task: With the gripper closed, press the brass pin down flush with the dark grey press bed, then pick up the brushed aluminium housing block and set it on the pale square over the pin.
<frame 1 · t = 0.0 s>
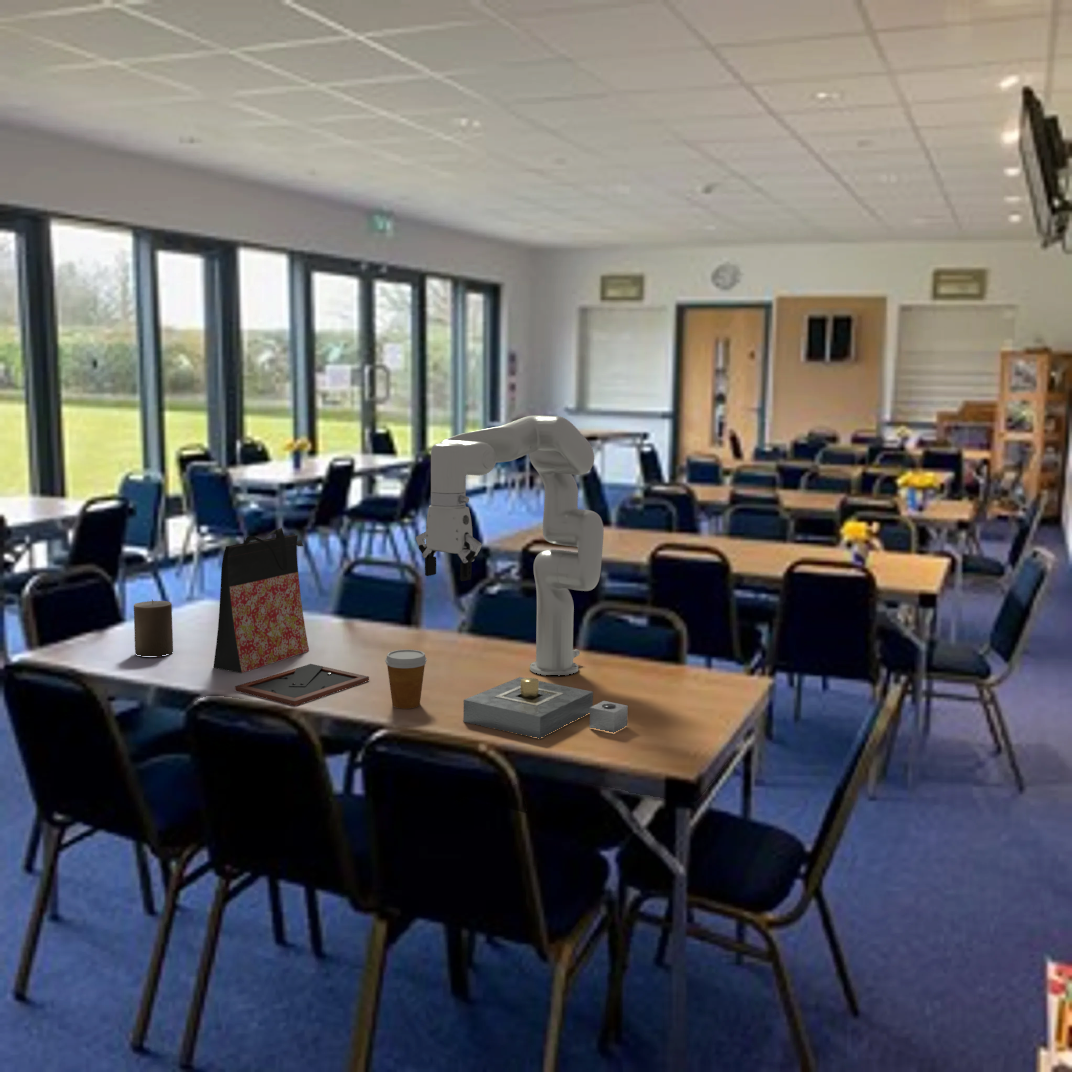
hand: (448, 577, 229), 31 cm above the table, tool pointing down, fingers open, 9 cm apart
disposable coffee cup: (406, 705, 240), on the table
press bed: (529, 717, 233), on the table
housing: (608, 728, 226), on the table
pillar candle: (154, 654, 281), on the table
gift bag: (269, 658, 279), on the table
brass pin: (529, 690, 232), point 6 cm above the table, slide at 3.5 cm
picture frame: (303, 689, 254), on the table
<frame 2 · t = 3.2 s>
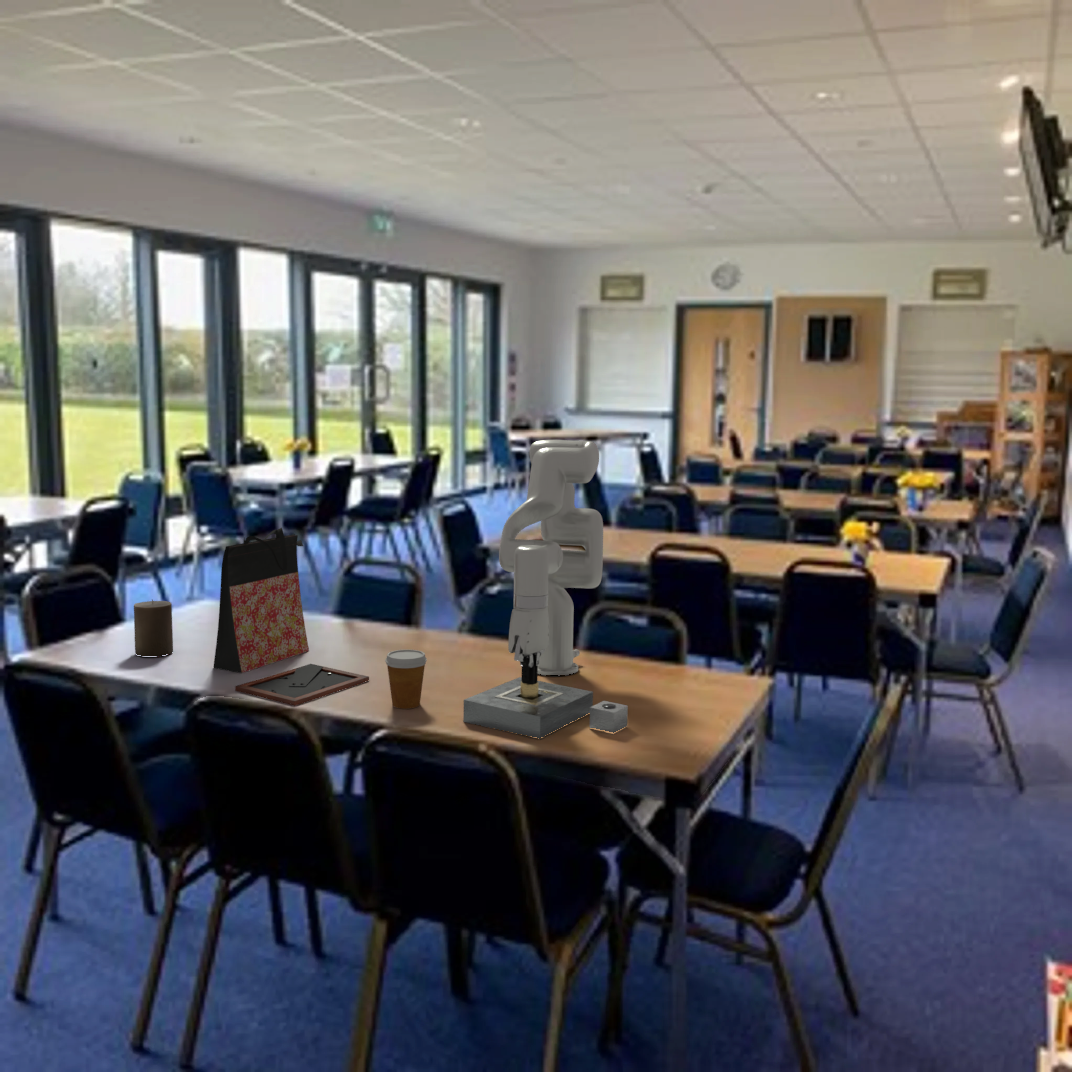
hand: (529, 682, 231), 8 cm above the table, tool pointing down, fingers closed
brass pin: (529, 693, 232), point 6 cm above the table, slide at 3.0 cm, touching gripper
everything else where it was.
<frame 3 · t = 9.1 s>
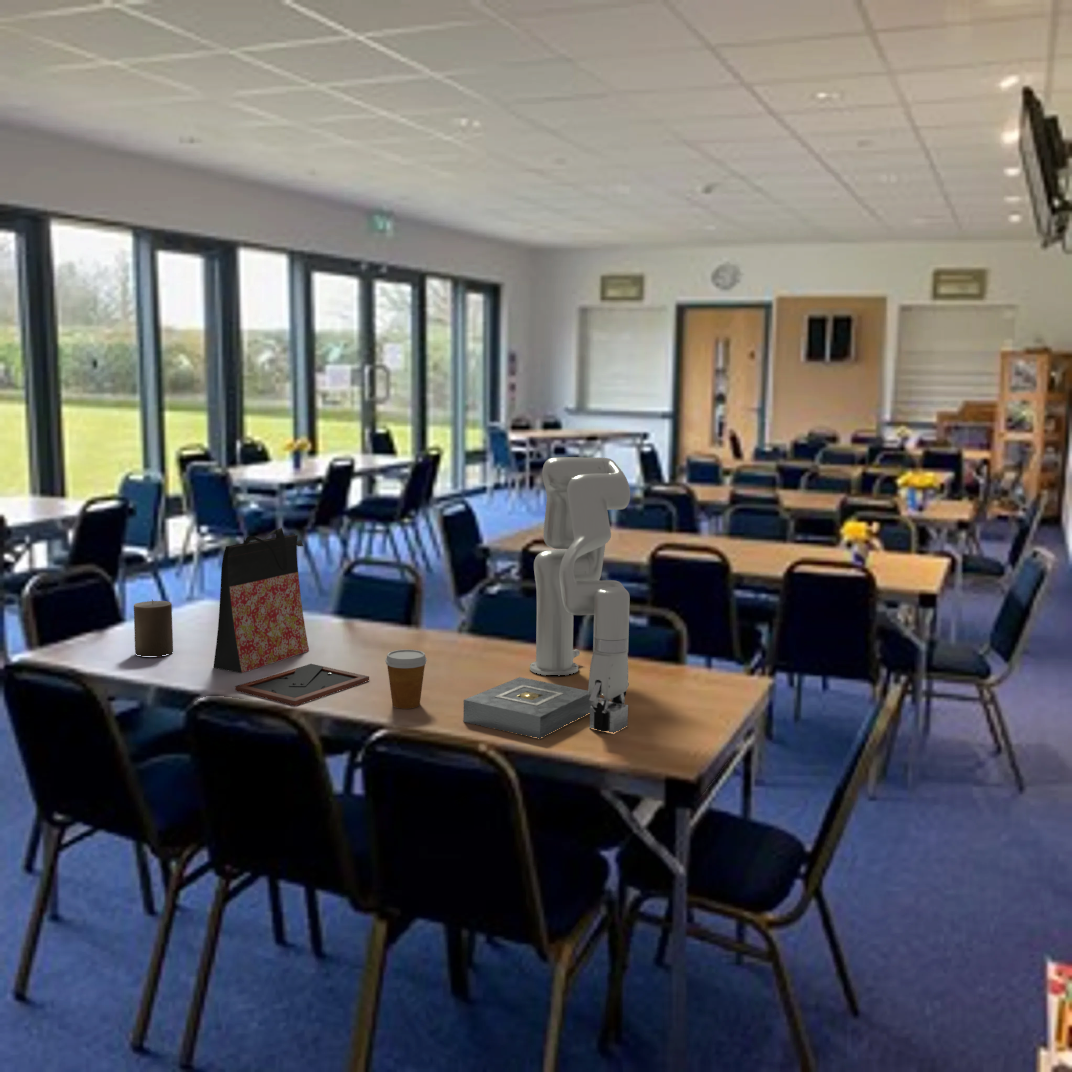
hand: (608, 724, 226), 1 cm above the table, tool pointing down, fingers closed on housing, 6 cm apart
housing: (608, 728, 226), on the table, touching gripper
brass pin: (529, 705, 232), point 3 cm above the table, slide at 0.2 cm
everything else where it was.
when the fingers open (7 cm above the table, at t = 13.9 s): housing drops 1 cm, resting on press bed.
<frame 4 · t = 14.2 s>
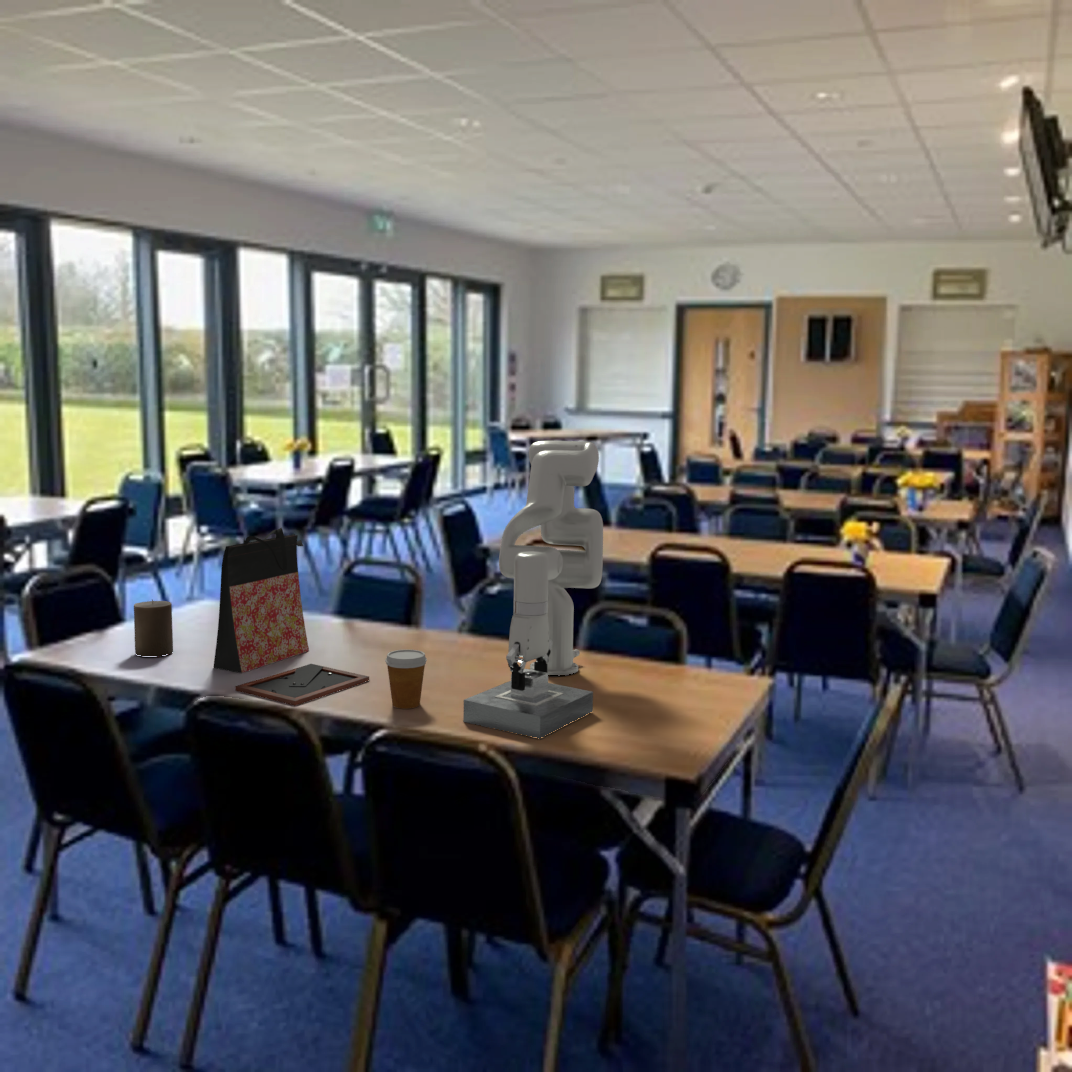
hand: (529, 684, 232), 8 cm above the table, tool pointing down, fingers open, 8 cm apart
housing: (529, 695, 232), point 5 cm above the table, touching press bed
brass pin: (529, 707, 232), point 2 cm above the table, slide at -0.2 cm
everything else where it was.
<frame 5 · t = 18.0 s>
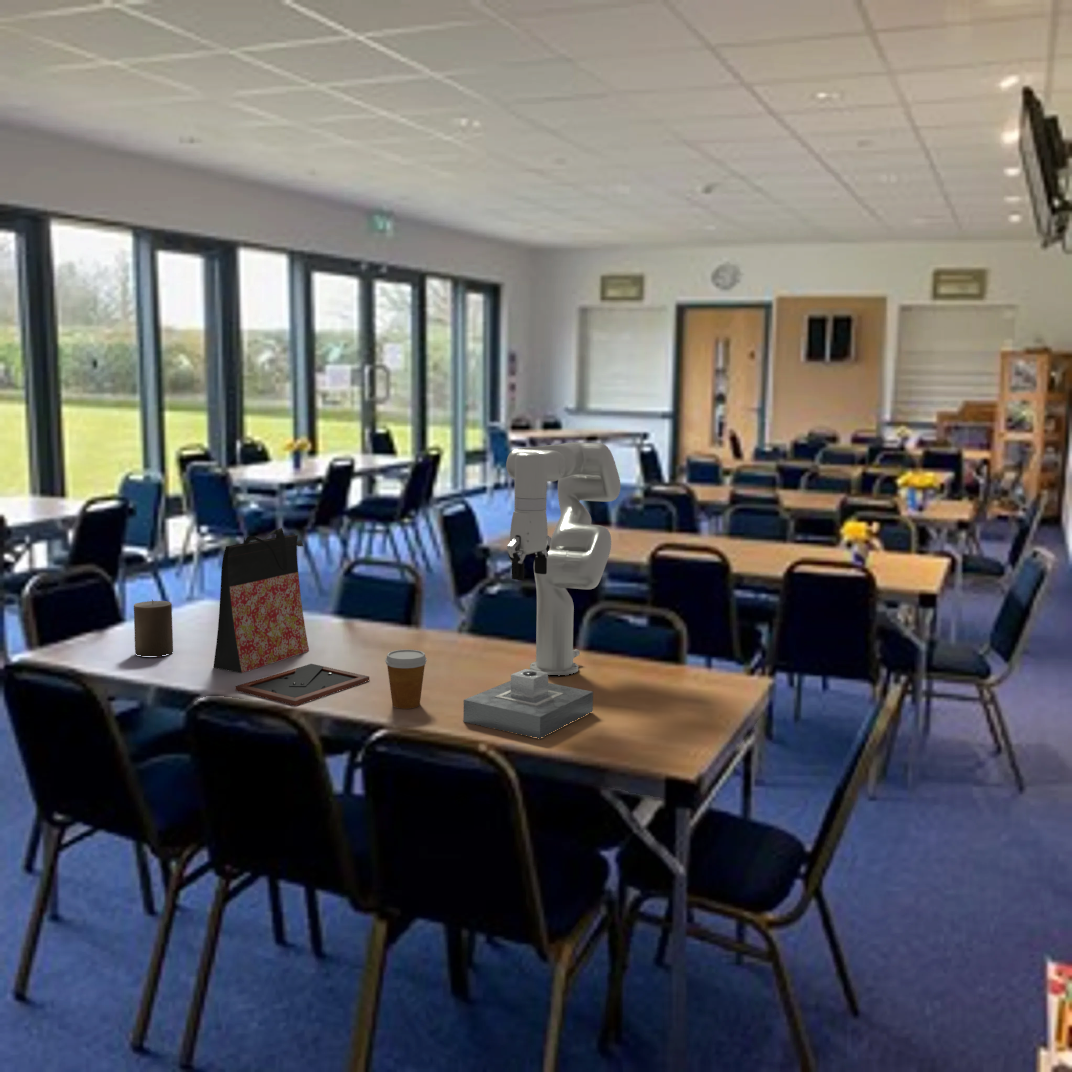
hand: (529, 576, 248), 28 cm above the table, tool pointing down, fingers open, 9 cm apart
nothing on the table moved.
at the end: brass pin slide at -0.2 cm; housing 0.0 cm off-centre on the press bed, point 5.0 cm above the press bed's base; housing tilted 0° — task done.
